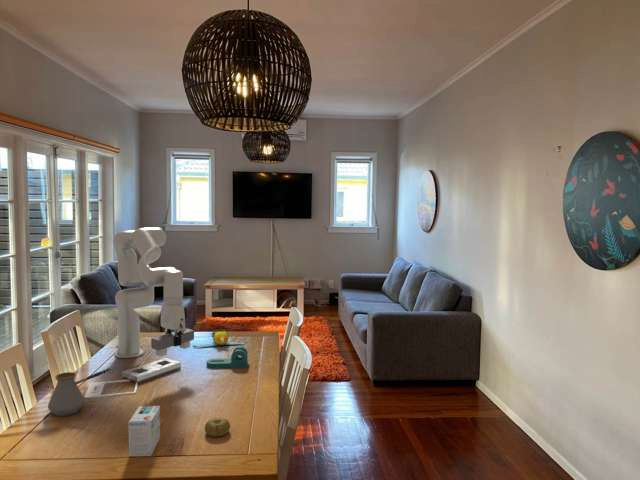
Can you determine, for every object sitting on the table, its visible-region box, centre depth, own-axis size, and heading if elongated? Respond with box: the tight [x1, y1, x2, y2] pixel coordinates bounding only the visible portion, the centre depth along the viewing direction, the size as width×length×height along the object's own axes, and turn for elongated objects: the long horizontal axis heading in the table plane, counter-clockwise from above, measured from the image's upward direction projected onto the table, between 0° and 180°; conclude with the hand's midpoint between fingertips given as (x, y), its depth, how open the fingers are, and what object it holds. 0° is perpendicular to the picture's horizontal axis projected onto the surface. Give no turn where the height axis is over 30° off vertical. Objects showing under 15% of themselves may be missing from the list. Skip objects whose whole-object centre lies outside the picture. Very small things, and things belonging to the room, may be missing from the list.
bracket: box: [206, 345, 249, 369], centre depth 220 cm, size 18×7×8 cm, turn 95°
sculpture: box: [204, 417, 231, 438], centre depth 157 cm, size 8×4×8 cm
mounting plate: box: [121, 357, 182, 385], centre depth 209 cm, size 10×22×3 cm, turn 146°
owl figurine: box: [192, 328, 248, 350], centre depth 252 cm, size 28×9×15 cm
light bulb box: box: [127, 405, 161, 457], centre depth 147 cm, size 11×7×11 cm, turn 5°
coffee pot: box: [47, 368, 113, 417], centre depth 171 cm, size 21×12×15 cm, turn 96°
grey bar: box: [150, 328, 195, 357], centre depth 200 cm, size 4×18×7 cm, turn 146°
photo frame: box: [83, 379, 139, 399], centre depth 192 cm, size 15×1×18 cm
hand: (173, 344), depth 200 cm, fingers closed on grey bar, 4 cm apart
